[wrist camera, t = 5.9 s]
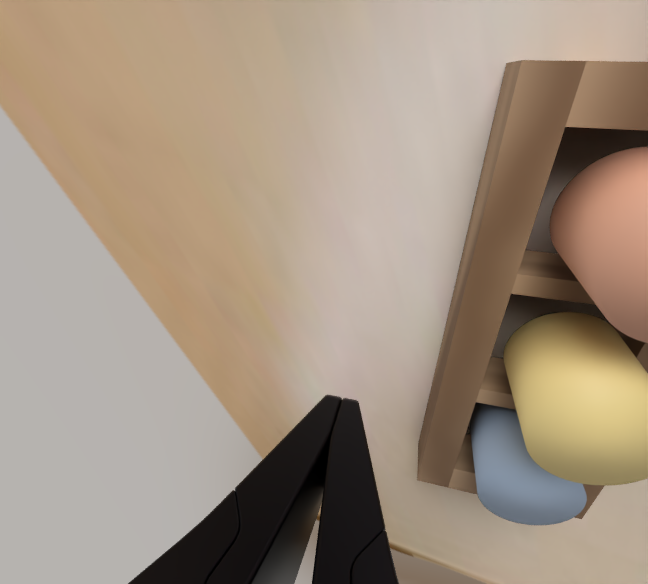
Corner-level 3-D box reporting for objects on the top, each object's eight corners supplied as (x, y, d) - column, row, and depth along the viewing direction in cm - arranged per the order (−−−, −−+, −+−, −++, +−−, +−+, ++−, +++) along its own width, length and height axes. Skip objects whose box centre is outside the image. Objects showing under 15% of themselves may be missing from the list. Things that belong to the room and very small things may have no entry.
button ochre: (643, 321, 16) (719, 407, 12) (597, 402, 18) (646, 498, 14) (519, 304, 17) (549, 379, 13) (492, 383, 19) (509, 467, 15)
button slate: (569, 399, 21) (603, 478, 17) (542, 454, 24) (565, 534, 20) (478, 383, 22) (490, 453, 18) (461, 437, 25) (467, 510, 21)
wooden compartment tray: (805, 67, 13) (893, 65, 11) (566, 475, 25) (581, 519, 23) (506, 63, 15) (521, 60, 13) (418, 443, 27) (417, 480, 25)
